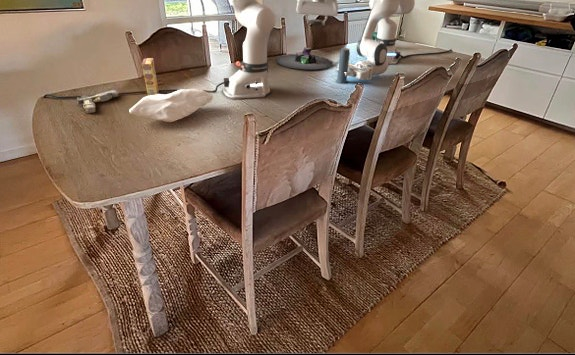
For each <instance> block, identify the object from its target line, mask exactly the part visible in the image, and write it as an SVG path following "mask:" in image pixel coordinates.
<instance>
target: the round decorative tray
mask: <svg viewBox="0 0 575 355" xmlns="http://www.w3.org/2000/svg"><path fill="white" fill-rule="evenodd" d="M275 62H276V63H277V64H278V65H280V66H282V67H287V68H291V69H296V70H297V69H298V70H306V71H307V70H308V71H309V70H323V69H327V68H330V67H332V66H333V64H334V63H333V61H332V60H329V59H328V58H326V57H320V56H317V55H314V54H312V48H311V47H307V46H305V47H304V48H303V49H302V52H301V53H298V52H296V53H295V54H289V55H283V56H278V57H276V59H275Z"/></svg>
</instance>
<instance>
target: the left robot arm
mask: <svg viewBox="0 0 575 355" xmlns="http://www.w3.org/2000/svg"><path fill="white" fill-rule="evenodd" d="M230 2H231V4H232V7H233V10H234V16H235V19H236V20H237V21H238V23H239V24H240V25H241V26H243V27H245V28H246V35H245V39H244V41H243V42H242V59H243V60H242V61H236V62H235V65H236V66H237V67H239V69H237V71H236V72H235V73H234V74H232V75H231V76H230V77H224V78H223V82H220V83H218V84H217V85H216V87H215V89H214V90H205V89H203V90H204V91H206V92H208V93H216V92H217V91H218V89H219V87H220V86H222V85H223V86H224V88H223V91H222V92H223V94H224V95H225V96H226V97H228V98H230V99H233V100H236V99H237V100H238V99H239V100H240V99H253V98H254V99H255V98H264V97H266V95H268V94H269V93H270V92H271V88H270V84H269V78H268V76H269V75H268V72H269V61H268V45H269V44H268V43H269V38H270V34H271V31H273V29H274V28H275V26H276V21H277V19H276V14H275V12H274V11H273V10H272V9H271V8H270V7H268V6H267V5H265V4H263V3H260V2H258V0H230ZM296 2H297V4H296V14H299V15H300V14H301V15H305V19H306V23H307V25H311V24H310V20H311V19H309V15H311V16H324V19H323V20H322V25H321V26H325V23H326V21H327V20H328V17H337V16H338V13H339V2H338V0H296ZM177 90H181V89H175V88H174V89H158V91H159V92H158V93H162V92H164V93H165V92H175V91H177ZM145 93H146V94H148V93H147V90H137V91H126V92H118V94H119V96H120V95H121V96H122V95H135V94H145ZM85 95H86V96H93V95H94V94H88V95H87V94H85ZM81 96H82V95H54V94H51V93H45V94H43V95H42V98H46V97H52V98H55V99H78V98H79V99H80V98H81Z"/></svg>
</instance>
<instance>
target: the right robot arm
mask: <svg viewBox="0 0 575 355" xmlns="http://www.w3.org/2000/svg"><path fill="white" fill-rule="evenodd" d="M415 3H416V0H369V1H368V5H369V9H370V11H369V14H368V16H367V19H366V22H365V24H364V27H363V30H362V33H361V36H360V38H359V40H358V42H357V44H356V53H357V55H358V56H359V57H362V58H366V59H363V60H358V61H356V63H352V62H349V65H348V72H344V75H345V76H347V77H348V76H349V77H353V78H356V79H358V80H360V81H361V80H362V81H365V80H367V81H368V80H370V81H371V80H373V77H375V76H376V77H377V76H380V75H382V74H384V73H386V72H387V70H388V68H389V65H396V64H397V63H398V62H399V61H400V58H401V59H404V58H408V57H417V56H428V55H440V54H446V53H450V52H453V49H452V48H451V49H448V50H446V51H439V52H426V53H423V52H422V53H411V54H407V55H401V52H402V51H398V48H397V46H396V42H397V37H396V36H397V29H398V24H397V23H396V22H395V21H394V19H391V18H390V17H392V16H393V15H408V14H411V13H412V11H413V10H414V8H415ZM376 29H377V31H376ZM374 32H377V37H376V39H375V41H374V40H373V39H372V37H373V34H374ZM338 68H339V63H338V64H337V69H336V72H337V73H338Z"/></svg>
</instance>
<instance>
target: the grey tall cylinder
mask: <svg viewBox="0 0 575 355" xmlns="http://www.w3.org/2000/svg"><path fill="white" fill-rule="evenodd" d="M350 55H351V52H350V48H348V47H342V48H341V49H340V51H339V61H338V64H339V68H338V67H337V69H338V72H337V78H336V79H337V80H336V82H337V83H339V84H346V83H347V80H348V76H345V75H344V72H348V65H349V63H350Z"/></svg>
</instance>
